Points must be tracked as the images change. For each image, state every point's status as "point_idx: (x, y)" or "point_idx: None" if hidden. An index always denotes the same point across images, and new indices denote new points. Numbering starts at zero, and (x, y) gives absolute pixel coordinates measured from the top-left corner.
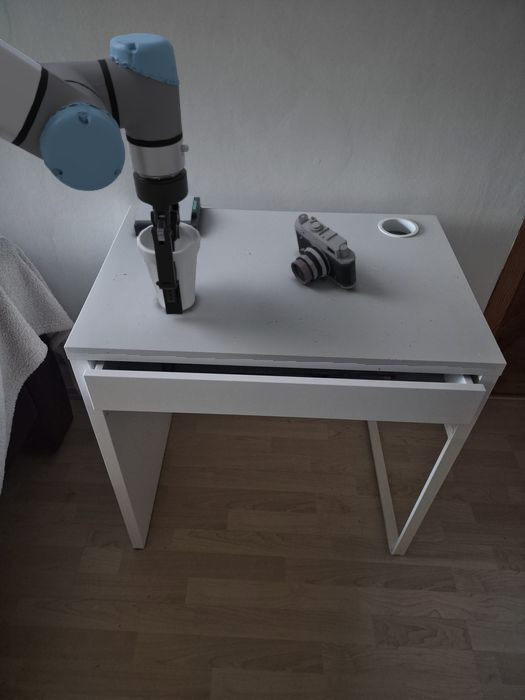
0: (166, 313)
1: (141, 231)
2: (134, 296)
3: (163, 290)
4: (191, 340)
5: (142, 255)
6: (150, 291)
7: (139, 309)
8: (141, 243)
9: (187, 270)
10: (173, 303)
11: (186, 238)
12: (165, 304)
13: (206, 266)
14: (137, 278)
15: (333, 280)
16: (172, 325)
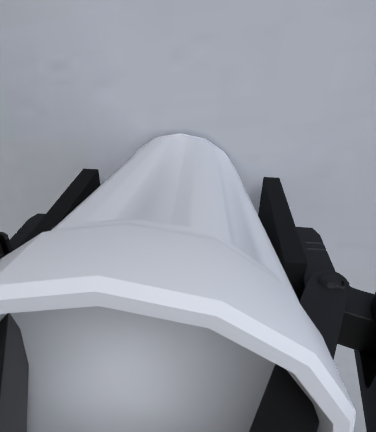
0: (81, 171)
1: (206, 317)
2: (222, 23)
3: (39, 225)
4: (18, 222)
5: (19, 248)
6: (248, 89)
7: (138, 56)
8: (10, 312)
9: (83, 349)
10: None
11: (253, 415)
12: (68, 189)
13: (361, 265)
14: (355, 18)
15: None
16: (68, 174)
